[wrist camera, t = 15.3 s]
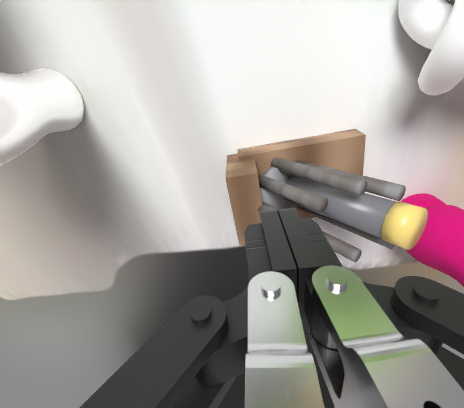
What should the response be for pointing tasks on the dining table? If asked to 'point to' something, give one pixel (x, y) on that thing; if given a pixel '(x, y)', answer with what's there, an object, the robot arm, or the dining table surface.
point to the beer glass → (35, 109)
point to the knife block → (309, 167)
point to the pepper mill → (440, 236)
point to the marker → (369, 213)
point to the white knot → (436, 41)
